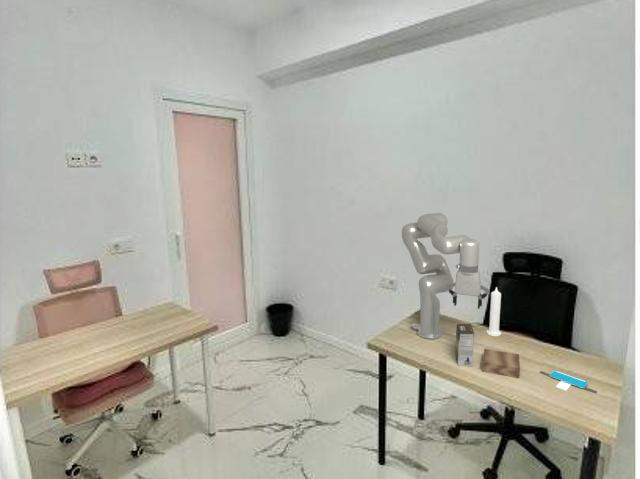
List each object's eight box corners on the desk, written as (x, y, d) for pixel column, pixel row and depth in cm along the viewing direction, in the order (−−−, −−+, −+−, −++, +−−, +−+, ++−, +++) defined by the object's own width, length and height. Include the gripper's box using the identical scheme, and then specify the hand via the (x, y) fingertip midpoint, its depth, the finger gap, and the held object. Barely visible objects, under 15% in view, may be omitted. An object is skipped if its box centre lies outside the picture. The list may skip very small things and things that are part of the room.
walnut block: (482, 372, 164) (482, 361, 163) (483, 358, 175) (484, 348, 174) (519, 379, 158) (519, 368, 157) (518, 364, 169) (519, 354, 168)
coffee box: (454, 355, 178) (456, 323, 175) (469, 356, 177) (471, 323, 173) (457, 365, 169) (459, 332, 166) (473, 366, 168) (474, 333, 164)
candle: (484, 333, 197) (486, 287, 191) (489, 328, 202) (491, 283, 196) (498, 337, 192) (501, 290, 187) (503, 332, 197) (506, 286, 192)
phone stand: (533, 379, 158) (533, 376, 158) (544, 368, 165) (545, 364, 165) (591, 401, 143) (591, 397, 143) (600, 388, 151) (600, 384, 150)
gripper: (446, 269, 164) (445, 306, 168) (490, 272, 157) (488, 312, 160) (448, 264, 170) (447, 300, 174) (491, 267, 163) (489, 305, 167)
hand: (467, 306), depth 167 cm, fingers open, 9 cm apart
